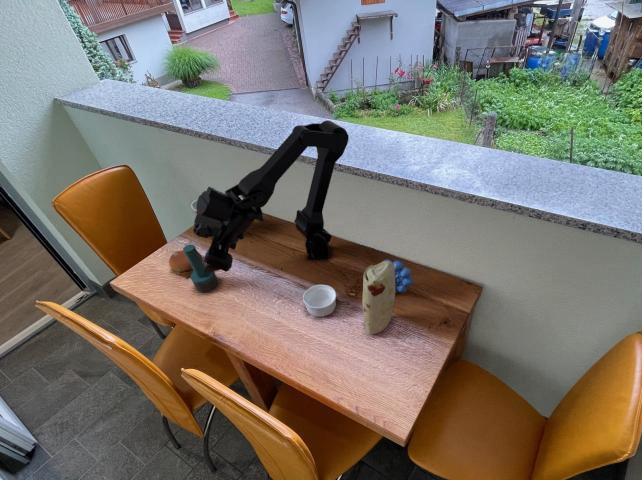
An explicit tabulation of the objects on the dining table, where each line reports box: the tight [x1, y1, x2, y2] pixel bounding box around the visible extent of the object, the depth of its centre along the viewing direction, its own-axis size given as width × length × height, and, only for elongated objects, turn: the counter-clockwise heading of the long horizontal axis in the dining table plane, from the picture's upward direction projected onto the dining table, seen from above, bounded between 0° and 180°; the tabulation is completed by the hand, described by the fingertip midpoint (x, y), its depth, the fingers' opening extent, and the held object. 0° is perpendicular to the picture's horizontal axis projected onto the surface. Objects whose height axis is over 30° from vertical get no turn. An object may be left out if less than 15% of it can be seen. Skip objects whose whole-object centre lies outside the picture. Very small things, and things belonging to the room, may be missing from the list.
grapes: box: [382, 258, 414, 294], centre depth 95 cm, size 12×7×12 cm, turn 59°
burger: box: [168, 249, 204, 278], centre depth 106 cm, size 10×9×5 cm
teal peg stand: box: [182, 244, 220, 294], centre depth 97 cm, size 6×6×14 cm
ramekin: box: [302, 284, 337, 318], centre depth 94 cm, size 9×9×4 cm
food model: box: [361, 260, 396, 336], centre depth 83 cm, size 10×7×20 cm
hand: (208, 261), depth 96 cm, fingers open, 9 cm apart
